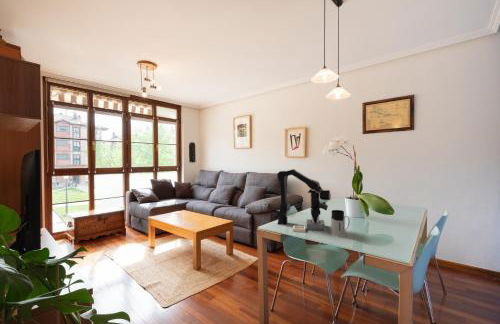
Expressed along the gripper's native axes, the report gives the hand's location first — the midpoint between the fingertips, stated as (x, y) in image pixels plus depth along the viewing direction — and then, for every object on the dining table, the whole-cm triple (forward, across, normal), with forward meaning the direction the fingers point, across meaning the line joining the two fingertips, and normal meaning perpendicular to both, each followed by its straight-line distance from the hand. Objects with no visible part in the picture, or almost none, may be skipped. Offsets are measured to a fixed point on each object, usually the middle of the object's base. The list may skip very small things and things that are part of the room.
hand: (315, 221), depth 166 cm
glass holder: (+5, -15, -15) cm, 22 cm away
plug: (+4, 0, 0) cm, 4 cm away
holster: (+4, -8, +11) cm, 14 cm away
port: (+4, 0, 0) cm, 4 cm away
